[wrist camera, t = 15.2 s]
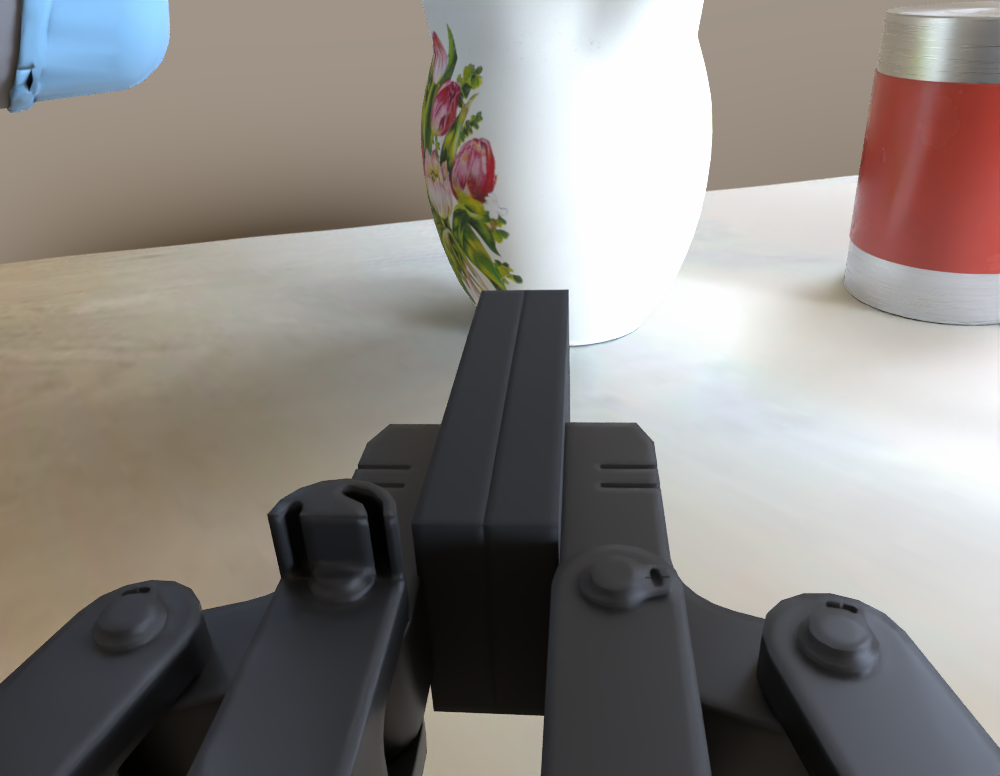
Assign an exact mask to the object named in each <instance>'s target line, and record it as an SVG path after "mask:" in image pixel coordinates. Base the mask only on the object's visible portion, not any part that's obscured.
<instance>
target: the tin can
mask: <svg viewBox="0 0 1000 776" xmlns="http://www.w3.org/2000/svg"><path fill="white" fill-rule="evenodd" d="M844 284H845V287H846V289H847V291H848V292H849V293H850V294H851V295H852V296H854V297H855V298H856V299H858V300H860V301H861V302H863V303H865V304H867V305H869V306H871V307H874V308H876V309H879V310H882V311H885V312H888V313H891V314H895V315H899V316H903V317H907V318H911V319H917V320H922V321H928V322H935V323H945V324H958V325H990V324H1000V1H981V2H955V3H938V4H924V5H913V6H905V7H897V8H893V9H890V10H887V12H886V14H885V20H884V26H883V33H882V40H881V46H880V53H879V59H878V65H877V68H876V70H875V74H874V80H873V87H872V94H871V100H870V106H869V113H868V119H867V126H866V132H865V139H864V145H863V152H862V159H861V165H860V171H859V177H858V184H857V190H856V197H855V203H854V210H853V216H852V223H851V229H850V246H849V252H848V258H847V265H846V271H845V278H844Z"/></svg>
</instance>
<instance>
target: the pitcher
mask: <svg viewBox="0 0 1000 776" xmlns="http://www.w3.org/2000/svg"><path fill="white" fill-rule="evenodd" d="M703 1H704V0H421V2H422V5H423V8H424V13H425V16H426V20H427V25H428V28H429V33H430V38H431V43H432V48H433V53H434V54H433V58H432V63H431V67H430V71H429V76H428V80H427V84H426V90H425V96H424V102H423V108H422V120H421V149H422V159H423V169H424V175H425V181H426V187H427V193H428V198H429V202H430V206H431V210H432V214H433V218H434V222H435V225H436V228H437V231H438V234H439V237H440V240H441V243H442V245H443V248H444V250H445V253H446V255H447V257H448V260H449V262H450V264H451V266H452V268H453V270H454V272H455V274H456V276H457V279H458V281H459V282H460V284H461V286H462V287H463V289H464V290H465V292H466V293H467V295H468V297H469V298H470V300H471V301H472V302H473V303H474V305H475V306H476V307H477V304H478V301H479V298H480V294H481V291H486V290H565V289H569V346H573V345H586V344H593V343H599V342H604V341H608V340H612V339H615V338H619V337H621V336H624V335H626V334H628V333H630V332H632V331H634V330H635V329H637V328H638V327H639V326H640V325H641V324H642V323H643V322H644V320H645V318H646V316H647V315H648V314H649V313H650V312H651V311H652V310H653V309H654V308H655V307H656V305H657V304H658V303H659V302H660V301H661V299H662V298H663V297H664V295H665V294H666V292H667V291H668V289H669V287H670V286H671V284H672V282H673V281H674V279H675V277H676V275H677V273H678V271H679V269H680V267H681V265H682V263H683V260H684V258H685V256H686V253H687V251H688V248H689V246H690V243H691V241H692V238H693V235H694V232H695V229H696V226H697V222H698V219H699V216H700V213H701V208H702V204H703V199H704V195H705V190H706V185H707V179H708V172H709V165H710V158H711V145H712V106H711V97H710V96H711V95H710V90H709V84H708V79H707V73H706V69H705V65H704V61H703V57H702V53H701V49H700V45H699V41H698V37H697V33H698V27H699V22H700V16H701V11H702V6H703Z"/></svg>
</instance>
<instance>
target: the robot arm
mask: <svg viewBox="0 0 1000 776" xmlns="http://www.w3.org/2000/svg"><path fill="white" fill-rule="evenodd" d="M169 22H170V20H169V6H168V0H0V108H1V109H2V108H7V109H8V111H9V112H10V113H11V112H20V111H21V110H28V109H29V108H31V107H32V106H33V105H34V103H35V102H37V101H45V100H53V99H60V98H68V97H76V96H84V95H91V94H99V93H107V92H114V91H121V90H125V89H128V88H130V87H132V86H135V85H137V84H139V83H141V82H142V81H144V80H145V79H146V78H147V77H148V76H149V75H150V74H151V73H152V72H153V71H154V70H155V69H156V68H157V67H158V66H159V65H160V63H161V62H162V60H163V57H164V55H165V52H166V50H167V47H168V43H169V37H170V23H169ZM267 516H268V520H269V525H270V529H271V534H272V538H273V543H274V547H275V552H276V556H277V561H278V565H279V570H280V574H281V580H280V582H279V584H278V586H277V588H276V590H275V592H273V593H271V594H269V595H266V596H263V597H259V598H256V599H252V600H249V601H244V602H240V603H235V604H230V605H225V606H220V607H215V608H211V609H206V610H202V608H201V605H200V602H199V600H198V598H197V597H196V595H195V594H194V592H193V591H192V589H190V588H188V587H186V586H184V585H182V584H179V583H177V582H175V581H159V580H150V581H145V582H140V583H135V584H130V585H126V586H123V587H121V588H119V589H117V590H114V591H112V592H110V593H107V594H105V595H103V596H101V597H99V598H98V599H96V600H95V601H94V602H92V603H91V604H89V605H88V606H87V607H85V608H84V609H82V610H81V611H79V612H78V613H77V614H76V615H75V616H74V617H73V618H72V619H71V620H70V621H68V622H67V623H66V624H65V625H64V626H63V627H62V628H61V629H60V630H59V631H57V632H56V633H55V634H54V635H53V636H52V637H51V638H50V639H49V640H48V641H47V642H45V643H44V644H43V645H42V646H41V647H40V648H39V649H38V650H37V651H36V652H34V653H33V654H32V655H31V656H30V657H29V658H28V659H27V660H26V661H25V662H23V663H22V664H21V665H20V666H19V667H18V668H17V669H16V670H15V671H14V672H12V673H11V674H10V675H9V676H8V677H7V678H6V679H5V680H4V681H3V682H2V683H0V776H422V774H423V769H424V764H425V759H426V754H427V746H426V730H425V722H424V712H425V708H426V703H427V698H428V693H429V688H430V684H431V691H432V700H433V708H434V711H441V712H466V713H490V714H515V715H540V716H544V730H543V748H542V766H541V776H1000V748H999V747H998V746H997V744H996V743H995V742H994V741H993V739H992V738H991V737H990V736H989V735H988V733H987V732H986V731H985V730H984V728H983V727H982V726H981V725H980V723H979V722H978V721H977V720H976V719H975V717H974V716H973V715H972V714H971V712H970V711H969V710H968V709H967V707H966V706H965V705H964V704H963V702H962V701H961V700H960V699H959V698H958V696H957V695H956V694H955V693H954V691H953V690H952V689H951V688H950V686H949V685H948V684H947V683H946V682H945V680H944V679H943V678H942V677H941V675H940V674H939V673H938V672H937V670H936V669H935V668H934V667H933V665H932V664H931V663H930V662H929V661H928V659H927V658H926V657H925V656H924V654H923V653H922V652H921V651H920V649H919V648H918V647H917V646H916V645H915V643H914V642H913V641H912V640H911V638H910V637H909V636H908V635H907V633H906V632H905V631H904V630H903V629H901V628H900V627H899V626H898V625H897V624H896V623H895V622H894V621H893V620H891V619H890V618H889V617H888V616H887V615H886V614H885V613H883V612H881V611H879V610H877V609H875V608H873V607H871V606H869V605H867V604H865V603H863V602H861V601H859V600H855V599H851V598H847V597H843V596H839V595H835V594H831V593H803V594H800V595H797V596H794V597H791V598H788V599H785V600H781V601H780V602H779V603H778V604H777V605H776V606H775V607H774V608H773V609H771V610H770V611H769V612H768V613H767V615H766V619H763V618H759V617H755V616H751V615H747V614H744V613H740V612H736V611H733V610H730V609H727V608H724V607H721V606H718V605H715V604H713V603H711V602H709V601H708V600H706V599H704V598H702V597H700V596H699V595H697V594H696V593H694V592H693V591H692V590H691V589H690V588H688V587H687V586H686V585H685V584H684V583H683V582H682V581H681V579H680V578H679V576H678V574H677V572H676V570H675V569H674V568H673V565H672V562H671V559H670V551H669V544H668V537H667V530H666V523H665V516H664V509H663V502H662V495H661V488H660V481H659V474H658V469H657V460H656V453H655V446H654V442H653V441H652V440H651V439H650V437H649V436H648V435H647V434H646V433H645V432H644V431H643V430H642V429H641V428H640V426H639V425H638V424H637V423H575V422H570V367H569V289H565V290H486V291H481V294H480V298H479V301H478V304H477V307H476V311H475V314H474V317H473V321H472V324H471V327H470V331H469V334H468V337H467V341H466V344H465V347H464V351H463V354H462V357H461V360H460V364H459V367H458V370H457V374H456V377H455V380H454V384H453V387H452V390H451V394H450V397H449V400H448V403H447V407H446V410H445V413H444V417H443V420H442V423H441V424H390V425H388V426H387V427H386V428H385V429H384V430H382V431H381V432H380V433H379V434H378V435H376V436H375V437H374V438H373V439H372V440H371V441H369V442H368V443H367V445H366V448H365V450H364V452H363V454H362V457H361V459H360V461H359V463H358V469H356V470H355V473H354V475H353V477H352V479H348V478H347V479H337V480H327V481H321V482H318V483H315V484H312V485H309V486H306V487H302V488H300V489H298V490H296V491H295V492H293V493H291V494H289V495H288V496H286V497H284V498H283V499H281V500H280V501H279V502H278V503H277V504H276V505H275V507H274V508H273V509H272V510H271V511H270V512H269V513H268V514H267Z"/></svg>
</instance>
